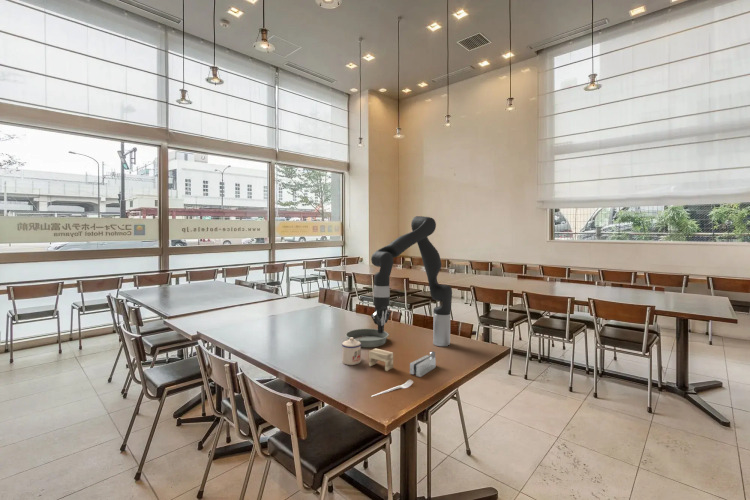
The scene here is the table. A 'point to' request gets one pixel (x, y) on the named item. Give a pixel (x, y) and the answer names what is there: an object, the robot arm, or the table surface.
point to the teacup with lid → (351, 352)
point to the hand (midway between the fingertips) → (380, 333)
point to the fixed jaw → (425, 366)
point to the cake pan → (368, 337)
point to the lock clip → (381, 358)
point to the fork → (396, 388)
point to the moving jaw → (414, 363)
